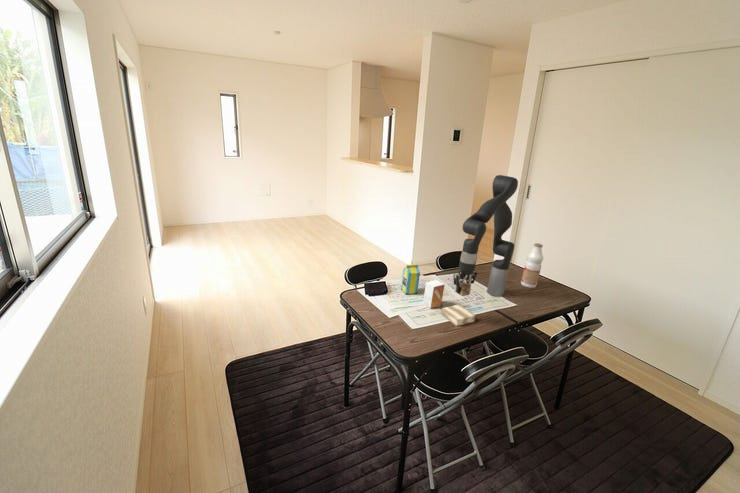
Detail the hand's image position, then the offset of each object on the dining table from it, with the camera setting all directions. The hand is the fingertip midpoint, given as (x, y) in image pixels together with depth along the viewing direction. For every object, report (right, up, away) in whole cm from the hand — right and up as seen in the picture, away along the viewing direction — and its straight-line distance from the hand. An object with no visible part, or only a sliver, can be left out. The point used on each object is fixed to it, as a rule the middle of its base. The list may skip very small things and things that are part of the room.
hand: (462, 291), depth 174 cm
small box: (-12, -9, +16) cm, 22 cm away
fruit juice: (+57, -3, +52) cm, 77 cm away
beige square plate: (-1, -14, +5) cm, 15 cm away
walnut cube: (0, -1, 0) cm, 1 cm away
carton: (-23, -4, +30) cm, 38 cm away
